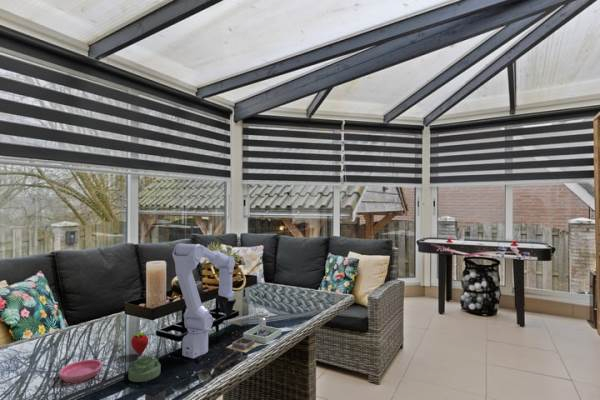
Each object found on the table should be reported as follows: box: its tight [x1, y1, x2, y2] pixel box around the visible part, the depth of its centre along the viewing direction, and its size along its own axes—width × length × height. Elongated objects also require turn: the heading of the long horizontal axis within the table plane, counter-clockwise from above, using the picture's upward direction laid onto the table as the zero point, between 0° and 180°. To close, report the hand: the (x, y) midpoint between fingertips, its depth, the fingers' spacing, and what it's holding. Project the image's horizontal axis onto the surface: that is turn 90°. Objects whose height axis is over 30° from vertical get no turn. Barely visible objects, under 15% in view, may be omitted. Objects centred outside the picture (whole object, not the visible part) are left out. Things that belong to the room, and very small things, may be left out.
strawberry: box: [130, 329, 149, 356], centre depth 130 cm, size 6×8×10 cm
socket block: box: [225, 336, 262, 353], centre depth 137 cm, size 10×10×2 cm
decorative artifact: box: [127, 353, 162, 383], centre depth 115 cm, size 10×7×10 cm
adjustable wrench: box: [222, 310, 269, 325], centre depth 174 cm, size 25×6×2 cm, turn 123°
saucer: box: [58, 359, 103, 384], centre depth 114 cm, size 12×12×3 cm
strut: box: [257, 317, 268, 337], centre depth 147 cm, size 4×4×8 cm
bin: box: [242, 324, 282, 344], centre depth 147 cm, size 12×12×3 cm
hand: (225, 313), depth 149 cm, fingers open, 7 cm apart
